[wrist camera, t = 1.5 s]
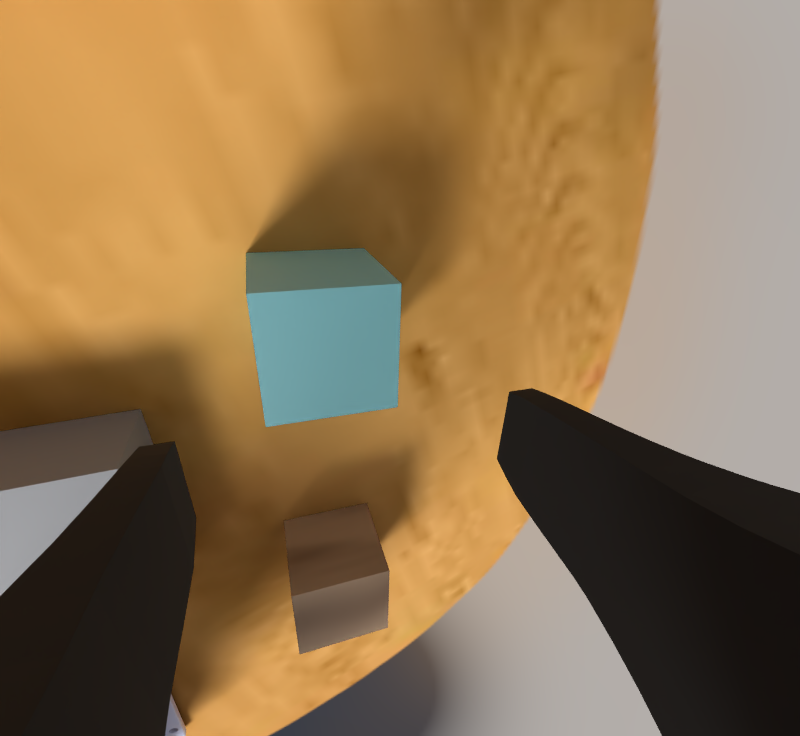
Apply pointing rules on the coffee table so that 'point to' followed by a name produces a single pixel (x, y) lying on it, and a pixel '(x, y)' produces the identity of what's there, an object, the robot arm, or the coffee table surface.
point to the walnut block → (336, 576)
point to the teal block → (323, 333)
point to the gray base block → (56, 479)
